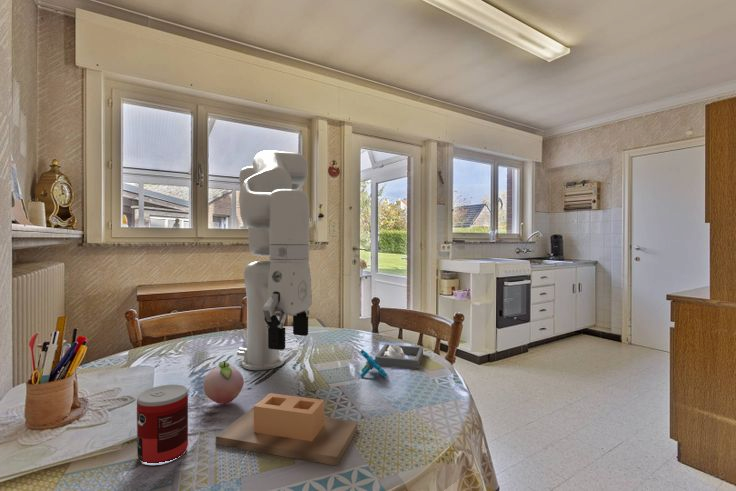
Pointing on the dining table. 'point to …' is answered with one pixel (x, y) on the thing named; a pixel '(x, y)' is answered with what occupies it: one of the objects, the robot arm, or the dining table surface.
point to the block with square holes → (289, 416)
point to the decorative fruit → (223, 383)
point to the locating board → (291, 440)
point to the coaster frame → (400, 361)
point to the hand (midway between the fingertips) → (289, 341)
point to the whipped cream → (394, 352)
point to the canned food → (162, 423)
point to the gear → (371, 365)
